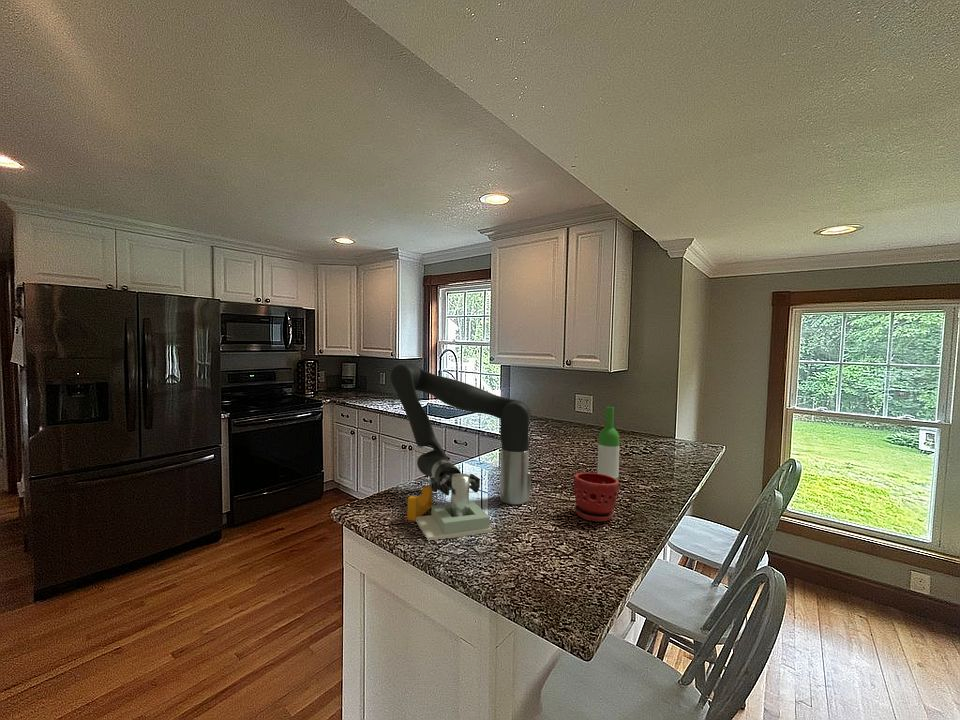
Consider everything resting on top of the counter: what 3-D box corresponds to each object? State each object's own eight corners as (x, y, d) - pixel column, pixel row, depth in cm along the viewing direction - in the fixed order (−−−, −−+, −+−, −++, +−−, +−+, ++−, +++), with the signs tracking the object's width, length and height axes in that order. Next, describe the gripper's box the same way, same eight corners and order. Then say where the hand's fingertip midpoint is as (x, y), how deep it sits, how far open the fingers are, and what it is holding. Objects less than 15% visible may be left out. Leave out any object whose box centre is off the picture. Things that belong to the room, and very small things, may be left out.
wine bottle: (603, 480, 163) (606, 405, 163) (621, 484, 157) (624, 407, 157) (593, 483, 158) (595, 406, 158) (611, 488, 152) (614, 408, 152)
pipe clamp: (419, 505, 130) (420, 485, 130) (432, 506, 129) (432, 486, 129) (401, 519, 119) (402, 497, 119) (415, 521, 118) (415, 499, 117)
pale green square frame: (473, 513, 124) (474, 500, 124) (491, 532, 111) (492, 517, 111) (415, 520, 118) (416, 506, 118) (427, 541, 105) (428, 525, 105)
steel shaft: (464, 517, 119) (466, 472, 118) (470, 524, 114) (472, 477, 114) (448, 519, 117) (449, 474, 117) (453, 526, 112) (455, 479, 112)
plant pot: (605, 528, 116) (607, 486, 116) (565, 515, 125) (566, 476, 125) (624, 516, 126) (625, 477, 125) (585, 505, 134) (586, 469, 134)
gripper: (424, 464, 126) (438, 479, 111) (467, 460, 131) (486, 475, 116) (423, 488, 126) (437, 506, 111) (466, 484, 131) (485, 501, 116)
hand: (462, 490), depth 113 cm, fingers open, 8 cm apart
